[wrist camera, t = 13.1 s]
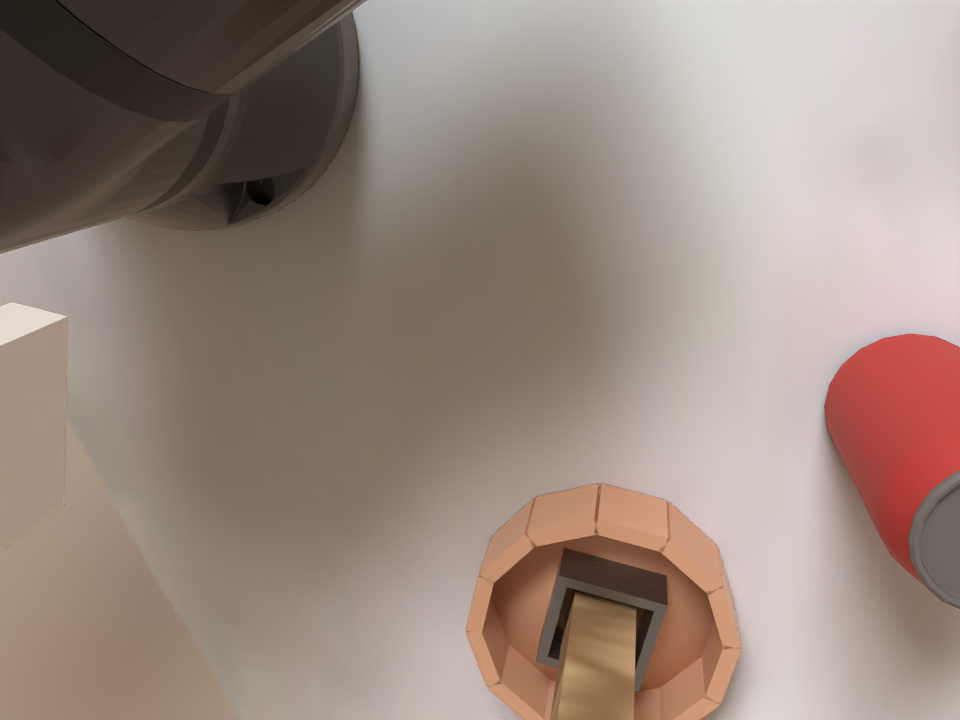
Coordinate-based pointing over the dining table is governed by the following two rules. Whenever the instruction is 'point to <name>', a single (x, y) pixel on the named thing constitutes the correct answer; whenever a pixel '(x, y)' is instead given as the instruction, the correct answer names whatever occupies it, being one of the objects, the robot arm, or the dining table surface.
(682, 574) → the shallow terracotta dish
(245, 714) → the dining table surface
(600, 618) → the tall wooden post
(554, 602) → the clip
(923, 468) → the beer can
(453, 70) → the dining table surface
